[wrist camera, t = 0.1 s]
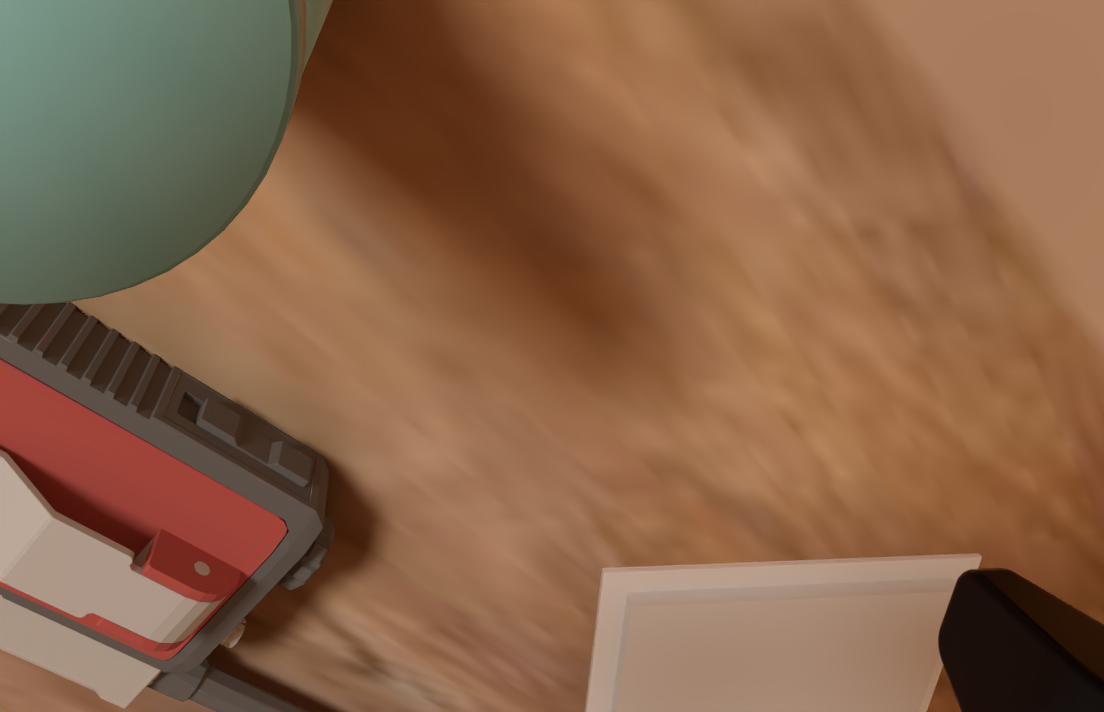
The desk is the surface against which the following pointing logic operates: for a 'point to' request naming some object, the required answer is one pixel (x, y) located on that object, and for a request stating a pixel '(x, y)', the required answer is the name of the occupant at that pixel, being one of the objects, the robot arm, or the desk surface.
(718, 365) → the desk surface
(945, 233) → the desk surface
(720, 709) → the lid
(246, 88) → the green banded cylinder
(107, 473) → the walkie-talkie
